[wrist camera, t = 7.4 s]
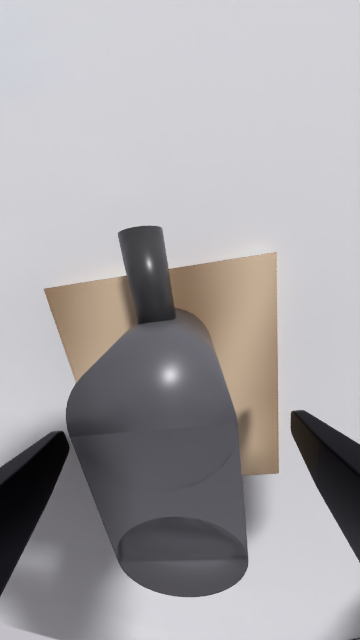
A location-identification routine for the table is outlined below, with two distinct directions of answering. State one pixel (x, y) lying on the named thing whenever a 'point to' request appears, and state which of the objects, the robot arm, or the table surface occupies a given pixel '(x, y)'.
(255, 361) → the light brown wooden board
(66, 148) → the table surface
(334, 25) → the table surface
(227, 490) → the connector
